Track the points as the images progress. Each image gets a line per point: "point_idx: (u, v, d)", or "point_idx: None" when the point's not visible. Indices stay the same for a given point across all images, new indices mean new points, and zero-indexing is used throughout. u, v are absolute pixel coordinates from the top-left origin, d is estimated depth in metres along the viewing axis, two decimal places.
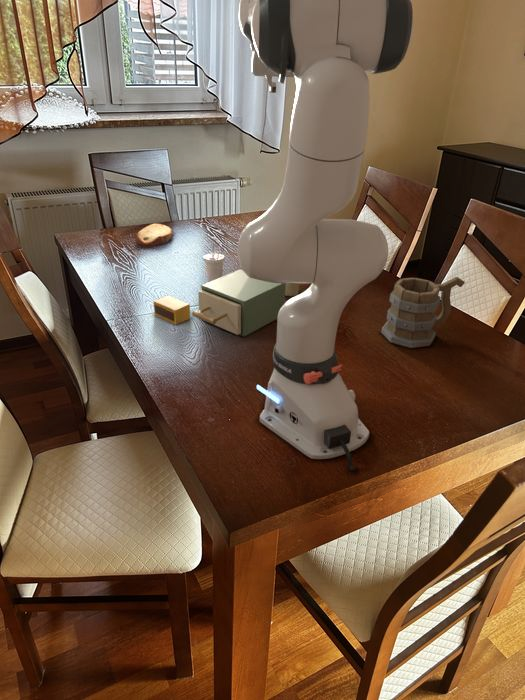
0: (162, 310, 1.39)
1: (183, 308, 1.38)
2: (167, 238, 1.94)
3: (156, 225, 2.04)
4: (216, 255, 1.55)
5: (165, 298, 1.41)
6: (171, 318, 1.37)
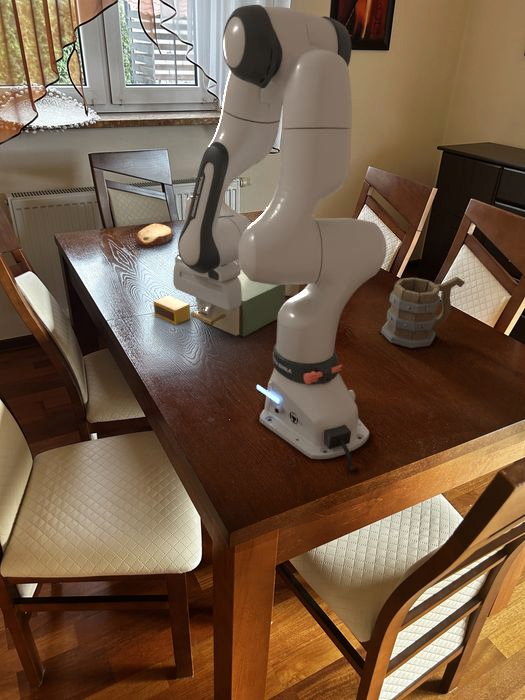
0: (162, 310, 1.39)
1: (183, 308, 1.38)
2: (167, 238, 1.94)
3: (156, 225, 2.04)
4: None
5: (165, 298, 1.41)
6: (171, 318, 1.37)
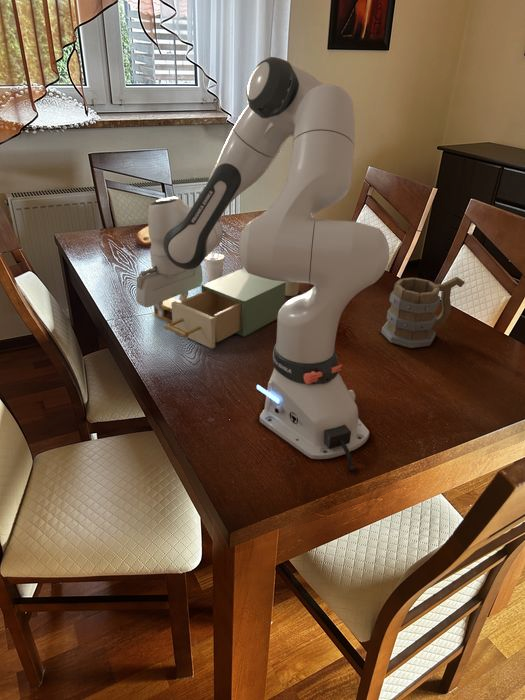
0: None
1: None
2: None
3: None
4: (216, 255, 1.55)
5: None
6: (171, 318, 1.37)
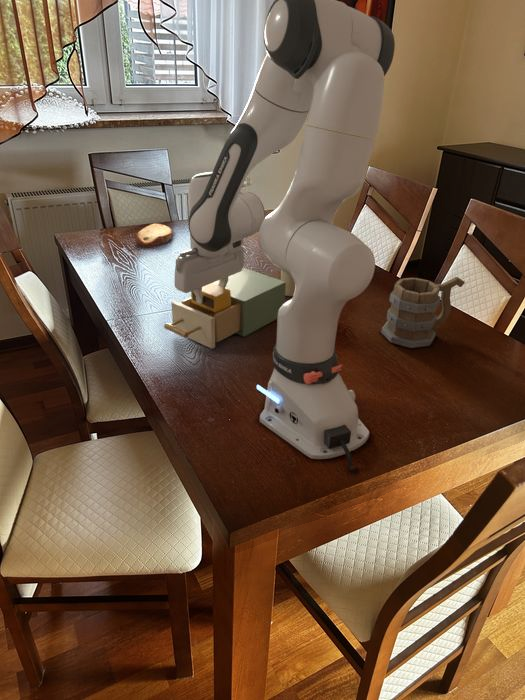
0: None
1: (224, 294, 1.26)
2: (167, 238, 1.94)
3: (156, 225, 2.04)
4: None
5: None
6: (211, 305, 1.26)
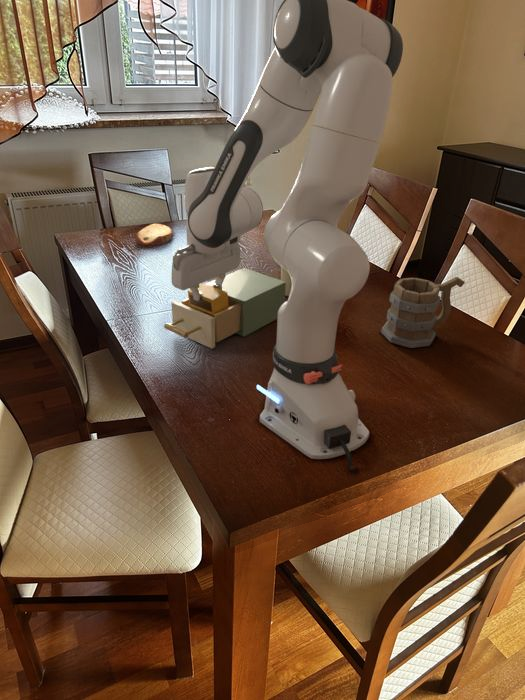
0: None
1: (221, 297, 1.26)
2: (167, 238, 1.94)
3: (156, 225, 2.04)
4: None
5: (200, 286, 1.30)
6: (208, 308, 1.26)
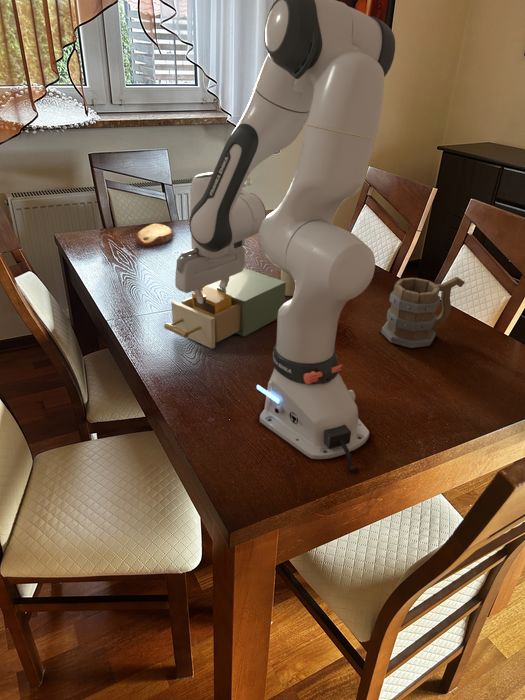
0: (202, 303, 1.28)
1: (224, 300, 1.27)
2: (167, 238, 1.94)
3: (156, 225, 2.04)
4: None
5: (204, 289, 1.31)
6: (212, 311, 1.27)
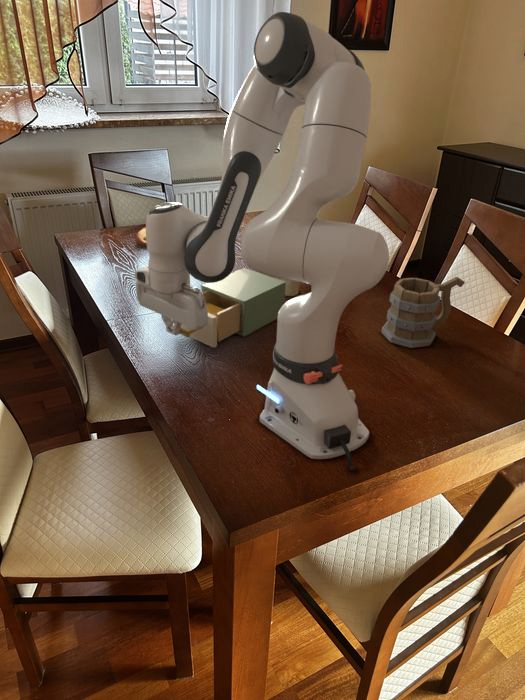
0: None
1: None
2: None
3: None
4: None
5: None
6: None
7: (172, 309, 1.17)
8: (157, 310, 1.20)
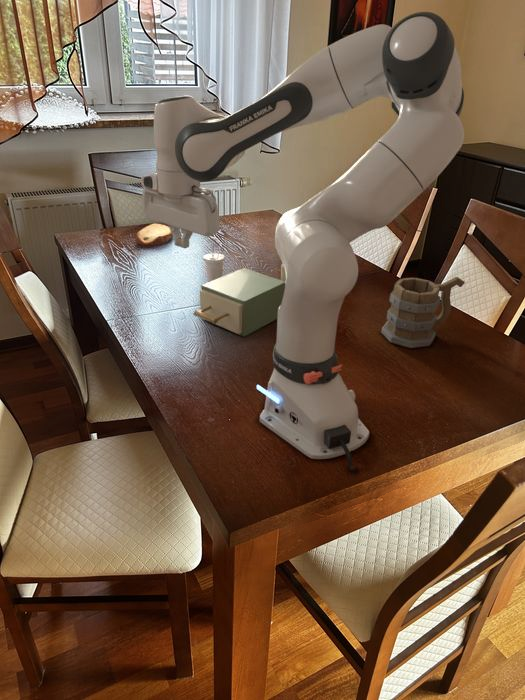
0: None
1: None
2: (167, 238, 1.94)
3: (156, 225, 2.04)
4: (216, 255, 1.55)
5: None
6: None
7: (181, 216, 1.09)
8: (165, 220, 1.13)
